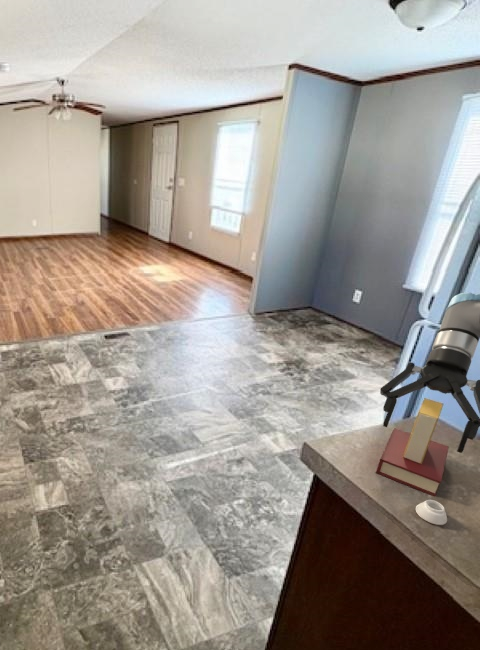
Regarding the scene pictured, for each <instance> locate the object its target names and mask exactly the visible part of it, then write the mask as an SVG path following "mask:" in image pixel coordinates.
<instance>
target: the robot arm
mask: <svg viewBox="0 0 480 650" xmlns="http://www.w3.org/2000/svg"><path fill="white" fill-rule="evenodd" d="M479 342H480V293H472V292H461V293H458V294H455V295H454V296H452V298H451V299H450V302H449V303H448V305H447V307H446V308H445V311H444V315H443V318H442V321H441V324H440V327H439V330H438V331H437V334H436V336H435V339H434V342H433V343H432V346H431V350H430V352H429V355H428V358H427V360H426V363H425V365H424V366H423V367H421V366H418V365H415V363H414V362H408V364H407V365H406V367H405V369H404V370H402V371H401V372H400V373H398V375H396V376H395V377H393V378H392V379H391V380H389V381H388V382H387V383H386V384H384V385H383V386H382V387H380V393H379V394H380V395H381V396H383V397H385V398H386V399H385V402H384V405H383V407H382V408H383V409H382V410H383V412H385V413H386V415H385V418H384V420H383V424H382V426H383V428H388V426H389V424H390V421H391V418H392V416H393V413H394V410H395V408H396V405H397V402H398V401H397V400H398V399H399V398H401V397H403V396H404V397H405V396H406V395H409V394H411V393H413V392H416V391H418V390H421V389H423V388H424V389H425V388H426V387H427V388H428V389H429V390H431V391H435V392H439V393H441V394H445V395H446V394H451V396H452V397H453V399H454V400H455V401H456V403H457V404H458V406H459V407H460V409H461V410H462V412H463V413H464V415H465V416H466V418H467V419H468V421H467V422H466V424H465V427H464V430H463V433H462V435H461V439H460V441H459V444H458V446H457V450H456V452H457V453H460V454H462V453H463V452H464V449H465V447H466V443H467V441H468V440H471V441H472V440H474V439H476V436H477V434H478V431H479V429H480V416H479V414H480V379H478V380H471V379H468V377H467V376H468V373H469V370H470V367H471V364H472V359H473V357H474V355H475V352H476V350H477V348H478V347H477V346H478V345H479ZM417 373H418V374H420V377H421V378H418V379H417V380H415V381H412V382H411V383H408V384H406V385H404V386H401V387H398V386H399V385H400V384H402V383H403V382H404V381H406V380H407V379H409V377H410V376H411V375H412V376H414V375H416V374H417ZM466 386H468V388H469V390H470V391H471V392H473V397H474V401H475V404H476V407H477V410H478V413H477V412H476V411H475V409H474V407H473V406H472V404H471V403H470V401H469V400H468V398H467V397H466V395H465V394H464V391H463V389H462V388H463V387H466ZM397 387H398V388H397ZM395 388H397V389H395Z"/></svg>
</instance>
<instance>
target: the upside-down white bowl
mask: <svg viewBox="0 0 480 650" xmlns="http://www.w3.org/2000/svg"><path fill="white" fill-rule="evenodd" d="M415 512H416V514H417V515H418V516H419V517H420V518H421V519H423V520H424V521H426V522H428V523H429V524H433V525H436V526H443V525H446V524H447V522H448V517H447V513H446V509H445V506H444V505H443V504H441V503H440V502H439V501H437V500H434V499H426V500H425V501H422V502H420V503H419V504H417V505H416V506H415Z"/></svg>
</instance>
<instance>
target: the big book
mask: <svg viewBox="0 0 480 650" xmlns="http://www.w3.org/2000/svg"><path fill="white" fill-rule="evenodd" d="M391 431H392V432H391V433H390V435H389V437H388V440H387V443H386V445H385V447H384V449H383V451H382V454H381V456H380V459H379V461H378V464H377V468H376V471H375V474H378V475H380V476H383V477H385V478H387V479H390V480H393V481H395V482H398V483H400V484H403V485H405V486H408V487H410V488H413V489H415V490H417V491H421V492H422V493H426V494H427V495H431V496H432V497H436V496H437V492H438V488H439V484H442V480H443V476H444V471H445V466H446V462H447V458H448V453H449V448H450V446H449V445H446V444H443V443H440V442H437V441H434V440H432V439H431V440H430V443H429V446H428V448H427V451H426V454H425V456H424V459H423V462H422V464H420V463H418V462H415V461H412V460H410V459H407V458H404V457H403V455H404V452H405V449H406V446H407V444H408V441H409V438H410V435H411V432H407V431H405V430H402V429H399V428H395V427H393V429H392V430H391Z"/></svg>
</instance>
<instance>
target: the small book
mask: <svg viewBox="0 0 480 650" xmlns="http://www.w3.org/2000/svg"><path fill="white" fill-rule="evenodd" d="M443 406H444V403H443V402H439V401H437V400H434V399H430V398H426V397H424V398H423V400H422V403H421V405H420V407H419V410H418V411H417V414H416V418H415V421H414V423H413V425H412V426H413V427H412V429H411V432H410V433H411V435H410V438H409V441H408V444H407V446H406V449H405V452H404V455H403V457H404V458H407V459H410V460H412V461H415V462H418V463H420V464H422V462H423V459H424V456H425V454H426V451H427V448H428V446H429V443H430V440H431V441H432V437H433V434H434V432H435V429H436V427H437V424H438V421H439V419H440V416H441V413H442V410H443Z"/></svg>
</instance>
